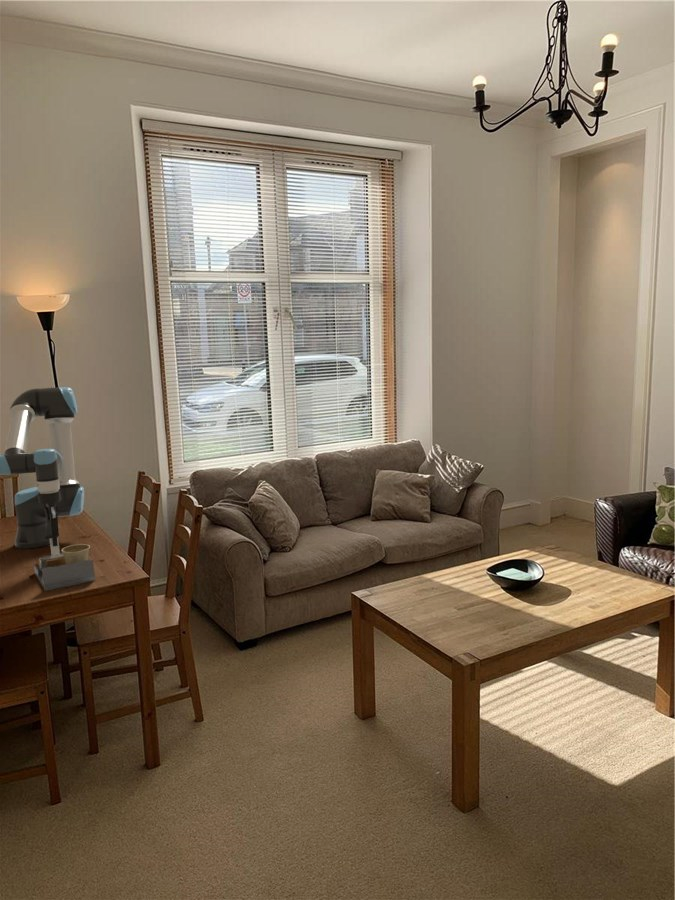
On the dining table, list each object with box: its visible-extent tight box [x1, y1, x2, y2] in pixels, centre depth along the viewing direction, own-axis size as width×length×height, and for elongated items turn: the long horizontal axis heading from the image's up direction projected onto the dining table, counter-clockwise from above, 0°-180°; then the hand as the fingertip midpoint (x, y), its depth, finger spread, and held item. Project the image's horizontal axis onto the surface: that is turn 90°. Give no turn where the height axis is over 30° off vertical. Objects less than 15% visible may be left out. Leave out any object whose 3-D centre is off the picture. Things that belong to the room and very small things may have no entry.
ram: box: [38, 552, 66, 570], centre depth 238 cm, size 5×13×4 cm, turn 122°
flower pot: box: [60, 543, 91, 564], centre depth 232 cm, size 9×9×9 cm
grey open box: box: [33, 558, 96, 592], centre depth 233 cm, size 22×16×8 cm
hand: (55, 553), depth 244 cm, fingers closed
